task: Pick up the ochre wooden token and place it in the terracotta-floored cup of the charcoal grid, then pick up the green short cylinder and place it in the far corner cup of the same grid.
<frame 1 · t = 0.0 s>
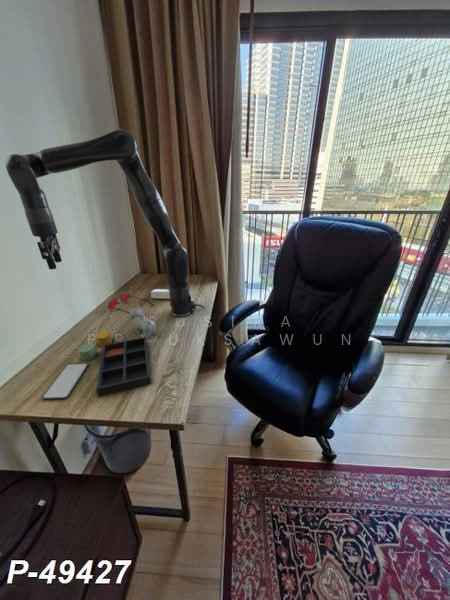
hand: (56, 265, 94), 29 cm above the table, tool pointing down, fingers open, 8 cm apart
ochre token: (105, 342, 100), on the table
green short cylinder: (89, 356, 92), on the table
grid: (126, 366, 88), on the table
dog figurine: (144, 333, 106), on the table
glasses: (131, 308, 124), on the table
white box: (165, 296, 136), on the table
smartphone: (67, 380, 82), on the table
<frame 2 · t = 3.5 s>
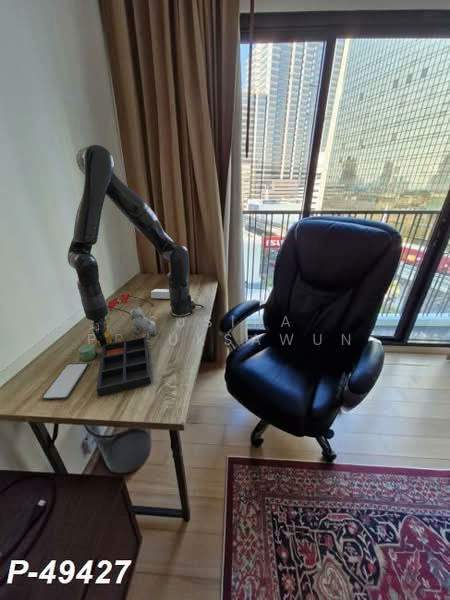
hand: (104, 341, 99), 0 cm above the table, tool pointing down, fingers closed on ochre token, 5 cm apart
ochre token: (105, 342, 100), on the table, touching gripper
everything else where it was.
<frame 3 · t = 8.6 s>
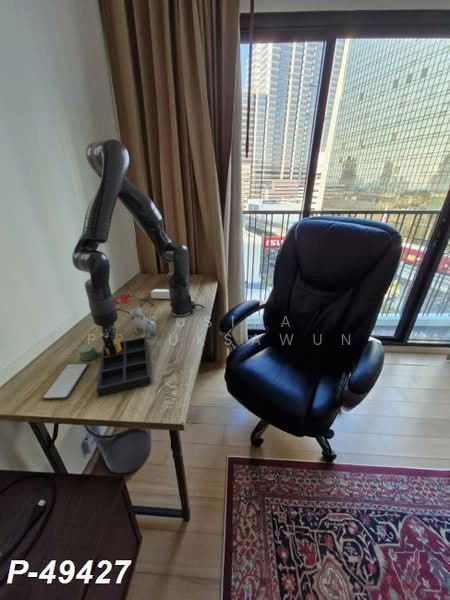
hand: (113, 349, 91), 3 cm above the table, tool pointing down, fingers closed on ochre token, 5 cm apart
ochre token: (114, 350, 91), point 3 cm above the table, touching gripper
everything else where it was.
when the fingers open (4 cm above the table, at t = 18.7 s): ochre token drops 3 cm, resting on grid.
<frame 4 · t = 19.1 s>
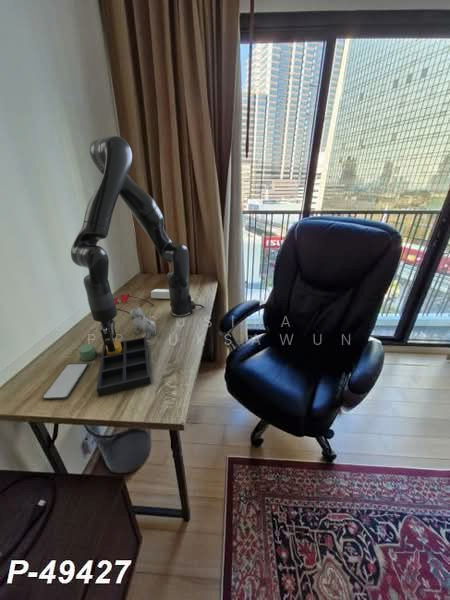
hand: (112, 343, 90), 5 cm above the table, tool pointing down, fingers open, 8 cm apart
ochre token: (115, 353, 92), point 1 cm above the table, touching grid
everything else where it was.
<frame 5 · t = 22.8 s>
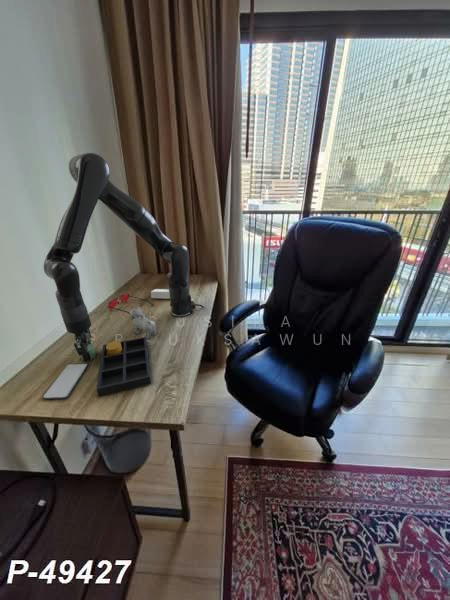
hand: (88, 355, 92), 0 cm above the table, tool pointing down, fingers closed on green short cylinder, 5 cm apart
green short cylinder: (89, 356, 92), on the table, touching gripper
everything else where it was.
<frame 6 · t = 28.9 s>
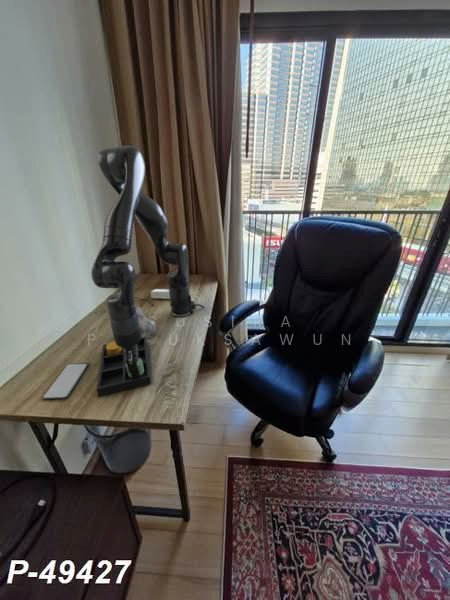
hand: (135, 371, 81), 3 cm above the table, tool pointing down, fingers closed on green short cylinder, 5 cm apart
green short cylinder: (136, 372, 81), point 3 cm above the table, touching gripper
everything else where it was.
when the fingers open (4 cm above the table, at t = 38.8 s): green short cylinder drops 3 cm, resting on grid.
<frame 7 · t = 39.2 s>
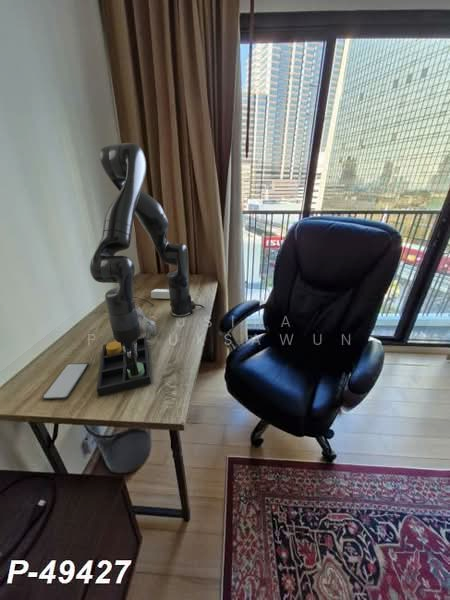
hand: (134, 365, 80), 5 cm above the table, tool pointing down, fingers open, 8 cm apart
green short cylinder: (137, 376, 82), resting on grid
everything else where it was.
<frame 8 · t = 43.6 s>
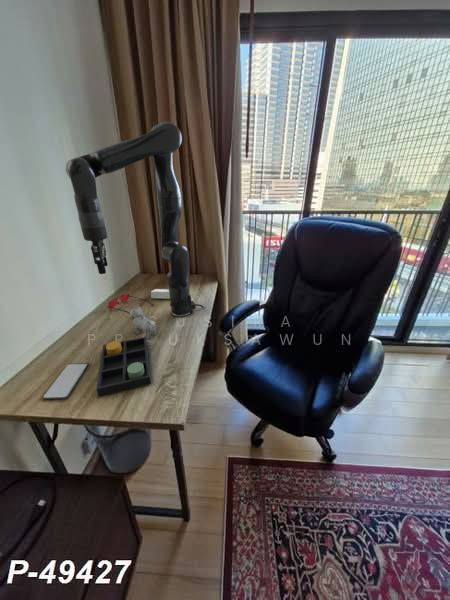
hand: (103, 269, 93), 28 cm above the table, tool pointing down, fingers open, 8 cm apart
nothing on the table moved.
at the end: ochre token 0.1 cm from the target spot in the grid, point 0.7 cm above the grid's base; green short cylinder 0.0 cm from the target spot in the grid, point 0.5 cm above the grid's base; green short cylinder tilted 0° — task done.
